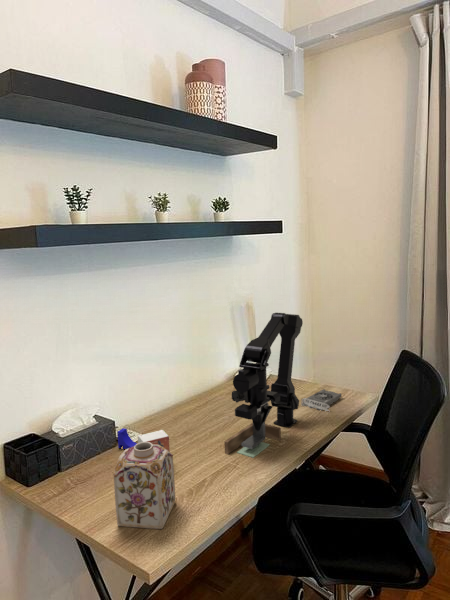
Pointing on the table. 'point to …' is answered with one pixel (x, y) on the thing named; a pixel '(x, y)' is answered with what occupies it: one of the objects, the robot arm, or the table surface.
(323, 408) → the graphics card
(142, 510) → the decorative jar
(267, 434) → the corner walls
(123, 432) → the blue saddle bracket
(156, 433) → the small box
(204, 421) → the table surface
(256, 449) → the mat
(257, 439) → the angle bracket
